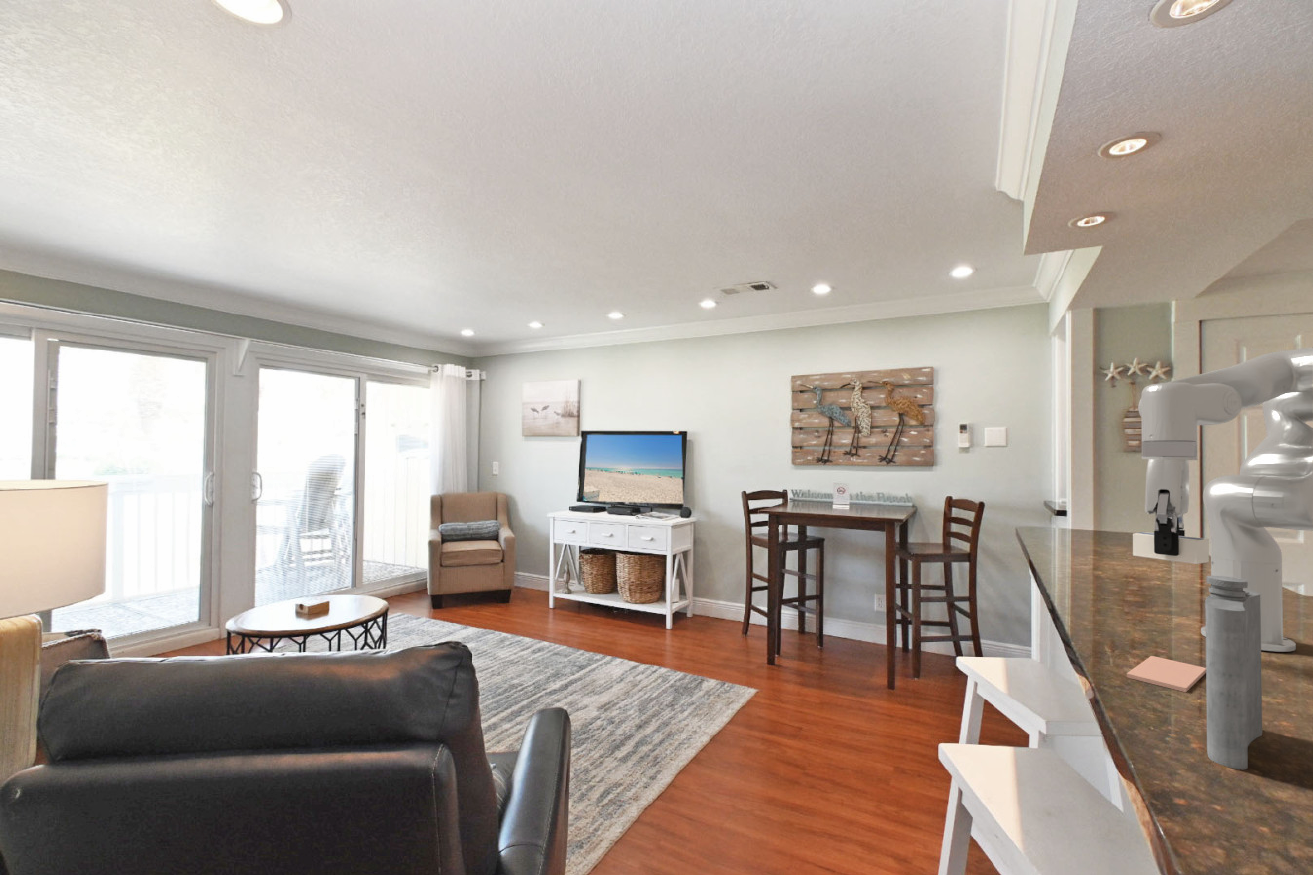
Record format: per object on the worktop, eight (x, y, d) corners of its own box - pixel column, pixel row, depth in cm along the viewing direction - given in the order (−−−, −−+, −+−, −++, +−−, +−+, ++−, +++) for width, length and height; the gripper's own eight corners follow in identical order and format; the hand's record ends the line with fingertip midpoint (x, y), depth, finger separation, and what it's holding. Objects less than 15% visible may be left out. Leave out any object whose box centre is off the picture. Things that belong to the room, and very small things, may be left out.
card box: (1145, 553, 108) (1145, 531, 108) (1208, 561, 100) (1208, 538, 101) (1133, 555, 106) (1132, 533, 106) (1197, 564, 98) (1196, 539, 98)
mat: (1151, 659, 99) (1151, 655, 99) (1206, 671, 94) (1206, 668, 94) (1126, 677, 91) (1126, 673, 91) (1186, 692, 85) (1186, 688, 85)
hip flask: (1245, 772, 63) (1243, 589, 64) (1195, 757, 67) (1193, 582, 67) (1263, 731, 73) (1261, 572, 74) (1219, 719, 76) (1217, 567, 77)
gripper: (1151, 452, 112) (1151, 545, 112) (1131, 450, 101) (1132, 554, 100) (1204, 452, 107) (1205, 551, 106) (1189, 451, 95) (1190, 561, 95)
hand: (1169, 551), depth 103 cm, fingers closed on card box, 5 cm apart
